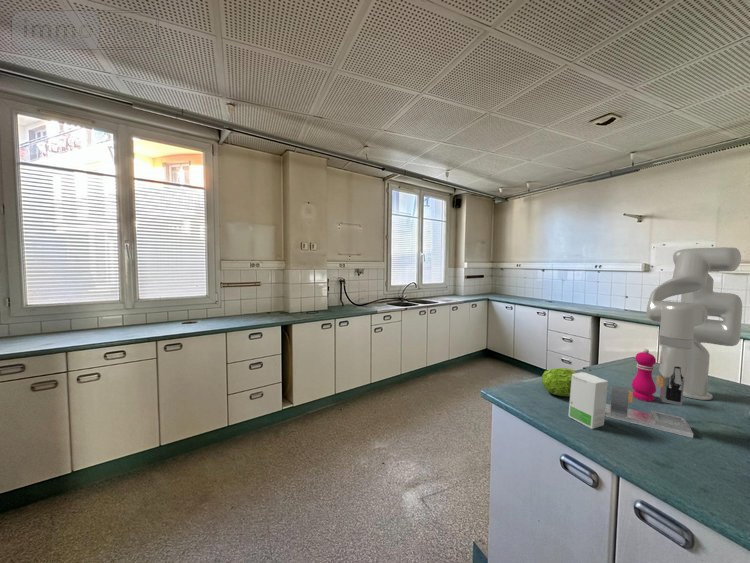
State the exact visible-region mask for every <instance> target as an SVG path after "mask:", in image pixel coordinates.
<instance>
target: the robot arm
mask: <svg viewBox="0 0 750 563" xmlns="http://www.w3.org/2000/svg"><path fill="white" fill-rule="evenodd" d="M672 259H673V263H674V269H673V273H672V277H671V279H668V280H666V281H664V282H663V283H661V284H660V285H658V286H657V287H655V288H654V289H653V290H652V292H651V293H650V296H649V300H648V303H647V306H646V316H647V318H648V319H649V320H651V321H653V322H656V323H657V322H658V323H660V324H659V325H660V326H659V335H658V336H659V338H658V339H659V340H658V345H659V346H660V347H661V348H660V349H661V350H660V357H659V363H658V364H659V365H658V372H659V373H660V374H661V376H663V377H664V378H667V377H668V387H667V392H666V399H667V400H671V401H676V402H681V380H682V381H684V389H683V397H686V398H689V399H694V400H701V401H711V400H713V395H712V393H710V392H708V382H709V381H708V380H709V369H710V352H709V351H708V349H707V348H706V347H705V345H703V344H710V345H711V344H712V345H718V346H725V347H734V346H737V345H738V344H739V342H740V339H741V334H742V332H741V331H742V317H743V316H742V315H743V300H742V299H741V297H740V296H739V295H738V294H736V293H732V292H716V291H714V278H713V277H712V275H710V274H709V272H734V271H735V270H737V269H738V268H739V267H740V264H741V262H742V254H741V252H740V250H739V249H738V248H737V247H725V246H724V247H695V248H681V249H679V250H676V251H675V252H674V253H673V255H672ZM674 296H681V299H680V301H671V300H670V301H669V300H666V301H665V299H669V298H671V297H674ZM709 317H714V318H715V317H716V318H717V317H718V318H721V319H722V320H718V319H709ZM671 376H672V377H674V379H673V378H671ZM671 380H673V381H674V382H671ZM671 383H672V384H671Z"/></svg>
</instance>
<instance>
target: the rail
mask: <svg viewBox="0 0 750 563" xmlns="http://www.w3.org/2000/svg"><path fill="white" fill-rule="evenodd" d="M633 398H634V397H633V391H631V390H628V388H627V387H622V386H617V385H612V384H611V385H610V399H609V400H610V402H609V403H610V404H609V403H606V409H605V417H607V418H611V419H614V420H619V421H623V422H627V423H631V424H636V425H638V426H643V427H647V428H651V429H656V430H660V431H664V432H666V433H672V434H676V435H679V436H682V437H687V438H692V439H693V438H694V432H693V431H692V428H691V426H690V424H689V423H688V422H687V420H686V418H685V417H681V416H677V415H673V414H669V413H664V412H659V411H654V410H650V412H651V413H648V412H645V411H639V410H635V409H630V408H628V407H629V406H628V405H629V403H631V404H633Z"/></svg>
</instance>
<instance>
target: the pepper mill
mask: <svg viewBox="0 0 750 563" xmlns="http://www.w3.org/2000/svg"><path fill="white" fill-rule="evenodd" d="M634 359H635V361H636V362H637V363H636V368H637V373H636V375H635V377H634V378H633V379H632V382H631V388H632V389H633V391H632V393H633V398H635V399H638V400H640V401H643V402H654V400H655V396H654V394H655V393H656V392H657V387H656V384H655V382H654V379H653V376H652V373H653V371H654V367H655V366H654V365H655V364H656V362H657V359H656V357H655V356H654V355H653V354H652V353H650V351H649V349H648V348H644V349H643V350H642V352H641V351H640V352H638V353H636V354H635V358H634Z"/></svg>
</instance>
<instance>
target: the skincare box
mask: <svg viewBox="0 0 750 563" xmlns="http://www.w3.org/2000/svg"><path fill="white" fill-rule="evenodd" d="M608 385H609V381H608V380H606V379H605V378H602V377H598V376H597V375H594V374H590V373H588V372H584V371H581V372H577V373H576V374H572V380H571V392H570V396H569V404H568V406H569V407H568V417H569V418H570V419H572V420H574V421H575V422H578V423H579V424H581V425H584V426H586V427H587V428H589V429H591V430H593V429H597V428H599V427H600V428H601V427H604V425H605V417H606V416H605V409H606V404H607V396H608V387H609V386H608Z"/></svg>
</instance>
